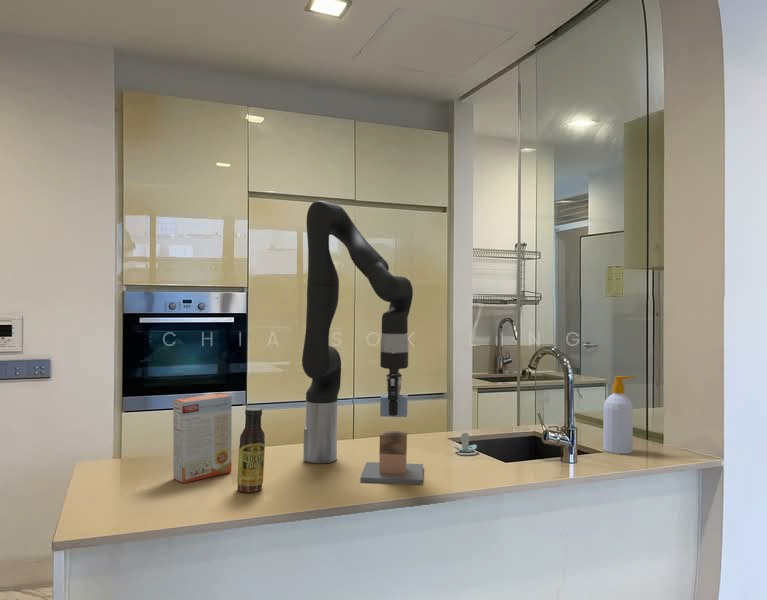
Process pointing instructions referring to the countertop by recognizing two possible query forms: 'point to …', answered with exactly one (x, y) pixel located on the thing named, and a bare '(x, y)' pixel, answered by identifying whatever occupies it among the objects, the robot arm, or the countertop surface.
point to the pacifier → (466, 446)
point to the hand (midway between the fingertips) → (393, 412)
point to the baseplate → (391, 477)
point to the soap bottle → (618, 420)
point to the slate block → (401, 406)
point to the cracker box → (202, 437)
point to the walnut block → (393, 442)
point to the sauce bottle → (251, 453)
